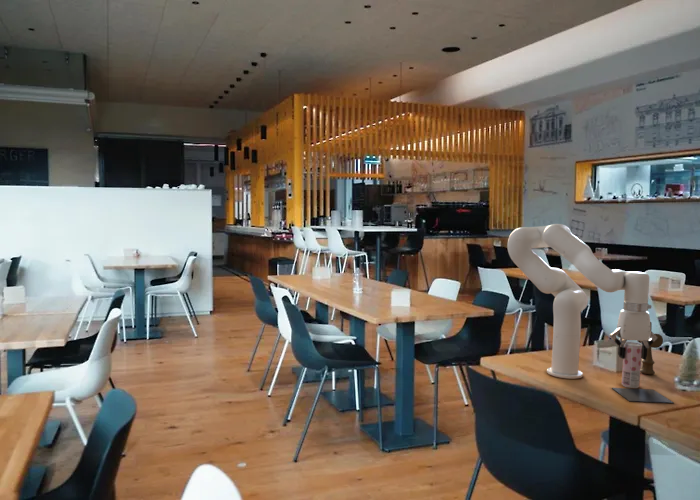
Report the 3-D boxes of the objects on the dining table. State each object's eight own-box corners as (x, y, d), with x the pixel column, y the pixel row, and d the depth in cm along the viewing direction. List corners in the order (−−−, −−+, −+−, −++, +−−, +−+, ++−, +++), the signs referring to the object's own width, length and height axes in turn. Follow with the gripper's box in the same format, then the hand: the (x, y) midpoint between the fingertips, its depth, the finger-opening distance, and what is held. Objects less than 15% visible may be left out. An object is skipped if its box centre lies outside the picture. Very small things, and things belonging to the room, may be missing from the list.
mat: (611, 388, 204) (611, 387, 204) (653, 390, 204) (653, 389, 203) (629, 401, 190) (629, 400, 190) (673, 403, 190) (673, 402, 190)
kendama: (648, 370, 230) (651, 319, 229) (662, 377, 220) (665, 324, 219) (632, 370, 230) (636, 319, 229) (646, 377, 220) (649, 323, 219)
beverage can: (637, 384, 210) (640, 343, 209) (640, 389, 204) (643, 346, 203) (620, 382, 211) (623, 341, 210) (622, 387, 206) (625, 344, 205)
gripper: (655, 306, 209) (652, 356, 210) (605, 304, 210) (602, 354, 211) (666, 310, 202) (662, 362, 203) (614, 308, 202) (611, 359, 204)
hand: (632, 357), depth 207 cm, fingers open, 6 cm apart
